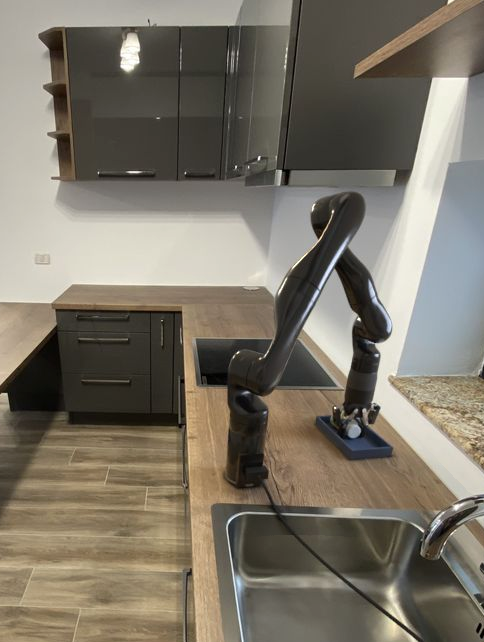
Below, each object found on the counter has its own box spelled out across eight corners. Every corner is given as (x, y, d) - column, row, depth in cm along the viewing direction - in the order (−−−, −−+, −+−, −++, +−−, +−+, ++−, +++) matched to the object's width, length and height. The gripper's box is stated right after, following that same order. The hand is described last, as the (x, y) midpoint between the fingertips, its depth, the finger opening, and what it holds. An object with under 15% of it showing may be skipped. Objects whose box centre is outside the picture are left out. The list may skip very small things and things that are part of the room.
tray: (391, 456, 123) (393, 447, 121) (350, 459, 121) (352, 450, 120) (350, 421, 142) (352, 413, 141) (314, 424, 140) (316, 416, 139)
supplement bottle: (348, 420, 139) (365, 435, 130) (332, 428, 139) (348, 443, 130) (343, 406, 136) (360, 421, 128) (327, 414, 137) (343, 429, 128)
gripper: (344, 391, 120) (334, 445, 127) (392, 388, 122) (380, 441, 129) (330, 380, 127) (321, 433, 134) (376, 378, 129) (366, 429, 136)
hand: (350, 437), depth 131 cm, fingers closed on supplement bottle, 5 cm apart
